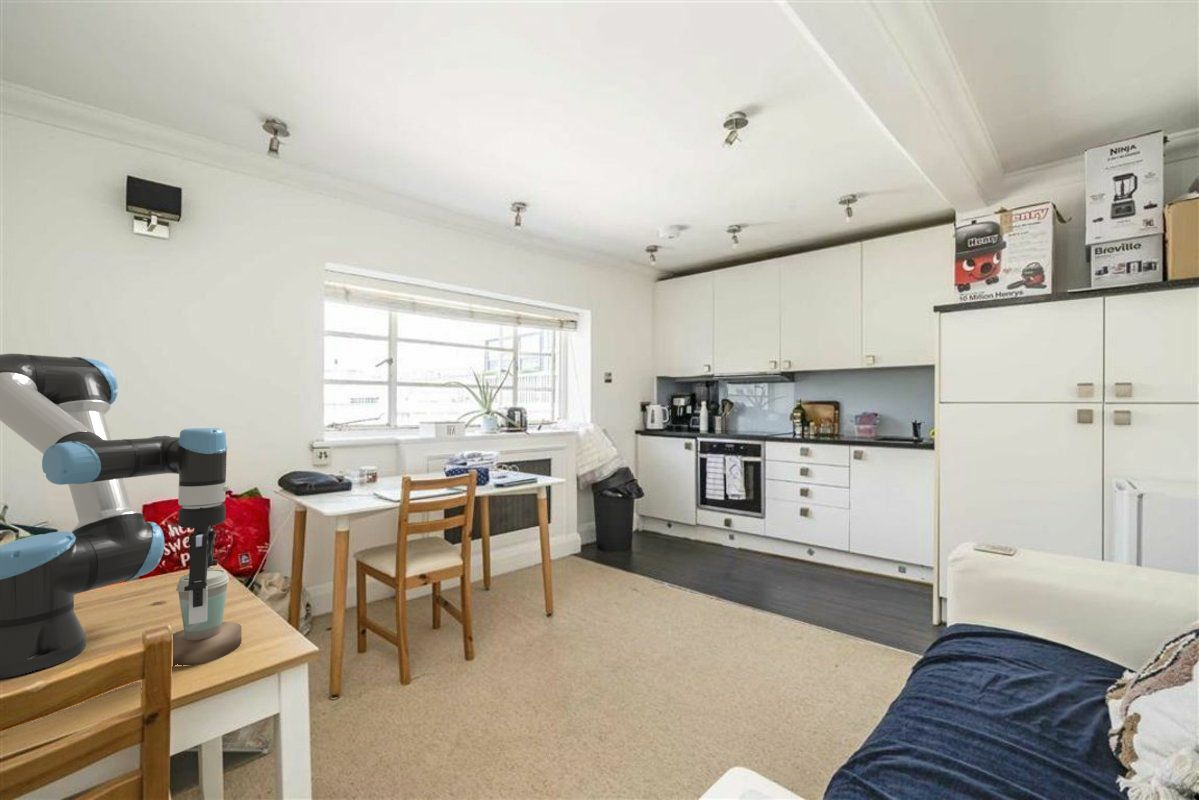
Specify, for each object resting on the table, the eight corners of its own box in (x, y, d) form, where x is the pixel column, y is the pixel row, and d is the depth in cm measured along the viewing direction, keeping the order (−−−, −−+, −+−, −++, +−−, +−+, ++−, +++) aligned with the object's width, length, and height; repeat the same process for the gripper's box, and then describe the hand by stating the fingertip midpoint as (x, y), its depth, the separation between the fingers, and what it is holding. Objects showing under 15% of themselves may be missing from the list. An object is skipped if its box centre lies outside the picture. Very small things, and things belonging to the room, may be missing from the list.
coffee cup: (171, 635, 103) (171, 576, 103) (222, 621, 109) (222, 565, 109) (182, 648, 97) (182, 585, 97) (235, 632, 104) (235, 573, 104)
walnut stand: (145, 671, 94) (145, 655, 94) (178, 640, 107) (178, 626, 107) (227, 660, 99) (228, 645, 99) (250, 632, 111) (250, 618, 111)
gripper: (221, 514, 95) (220, 628, 94) (229, 493, 115) (228, 587, 115) (169, 519, 90) (167, 638, 90) (186, 496, 111) (185, 593, 111)
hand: (201, 610), depth 103 cm, fingers open, 13 cm apart
